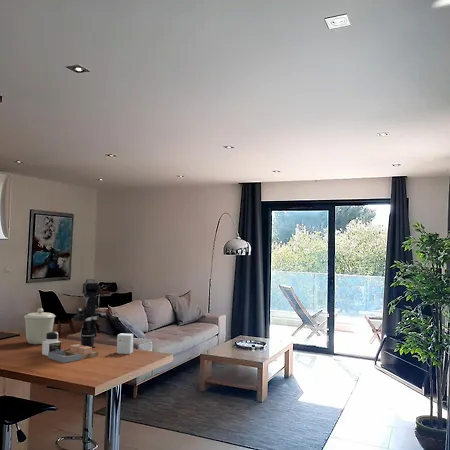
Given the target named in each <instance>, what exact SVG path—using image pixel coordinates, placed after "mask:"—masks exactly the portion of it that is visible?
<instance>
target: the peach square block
mask: <svg viewBox="0 0 450 450" xmlns="http://www.w3.org/2000/svg"><path fill="white" fill-rule="evenodd" d="M92 351H93V348H92V347H88V346H84V347H79V353H80V354H89V353H92Z"/></svg>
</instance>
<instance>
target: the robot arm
mask: <svg viewBox="0 0 450 450" xmlns="http://www.w3.org/2000/svg"><path fill="white" fill-rule="evenodd" d="M85 280H86V281H85V282H84V283H82V289H81V294H82V297H83V299H84V301H85V305H84V307H83V309H82V308H81V307H79V308H77V309H76V312H75V313H76V314H75V315H74V316H73V321H75V322H83V323H82V327H81V328H80V338H81V343H80V345H84V346H88V347H92V349H94V348H96V346H95V345H94V344H95V343H94V341H95V338H97V332H98V329H97V328H96V327H97V326H96V323H97V322H98V321H99V319H98V318H101V319H107V313H106V312H102V311H101V312H97V309H98V306H97V305H98V304H99V303H98V301H99V300H98V297H97V296H99V295H100V293H101V286H100V284H99V282H95V279H92V278H91V279H90V278H89V279H85Z"/></svg>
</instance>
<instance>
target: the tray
mask: <svg viewBox="0 0 450 450" xmlns="http://www.w3.org/2000/svg"><path fill="white" fill-rule="evenodd" d="M65 351H66V349H61V350H59V351H54V352H48V356H47V359H50V360H52V361H56V362H59V363H64V364H68V363H72V361H73V362H76V361H81V360H82V359H81V355H82V354H77V355H72V356H68V355H65Z"/></svg>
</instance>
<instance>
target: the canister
mask: <svg viewBox="0 0 450 450" xmlns="http://www.w3.org/2000/svg"><path fill="white" fill-rule="evenodd" d="M36 311H37V312H30V313H27V314H26V315H24V316H23V318H24V321H25V337H26V342H27V343H28V344H29V345H42V344H43V341H47V340H46V334H47V333H49V332H53V330H54V329H53V328H54V322H55V318H56V317H57V315H55V314H54V313H51V312H44V309H43V308H42V307H40V308H38V309H37V310H36Z"/></svg>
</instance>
